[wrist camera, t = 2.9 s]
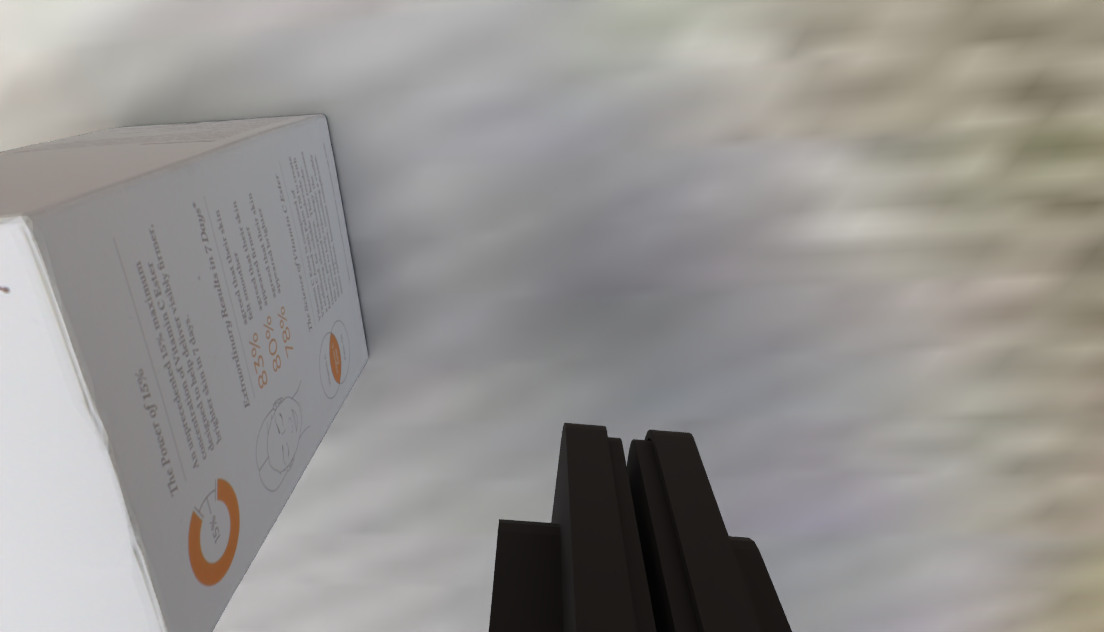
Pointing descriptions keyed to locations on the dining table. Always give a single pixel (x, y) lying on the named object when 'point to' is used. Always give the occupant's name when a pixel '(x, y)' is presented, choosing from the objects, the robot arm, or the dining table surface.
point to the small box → (163, 363)
